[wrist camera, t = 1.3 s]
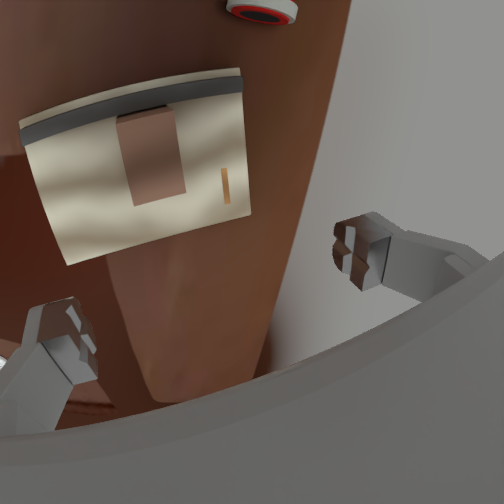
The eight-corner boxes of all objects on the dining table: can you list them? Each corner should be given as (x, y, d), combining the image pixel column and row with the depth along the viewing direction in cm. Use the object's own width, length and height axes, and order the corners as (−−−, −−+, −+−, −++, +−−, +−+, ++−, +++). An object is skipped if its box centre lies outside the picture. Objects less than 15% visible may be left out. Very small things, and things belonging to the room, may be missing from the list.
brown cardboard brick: (116, 115, 24) (115, 124, 20) (165, 104, 25) (173, 110, 22) (131, 185, 28) (133, 206, 24) (176, 174, 30) (186, 192, 26)
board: (24, 117, 22) (11, 124, 19) (232, 67, 27) (247, 67, 24) (69, 255, 31) (65, 276, 28) (244, 207, 37) (257, 222, 34)
